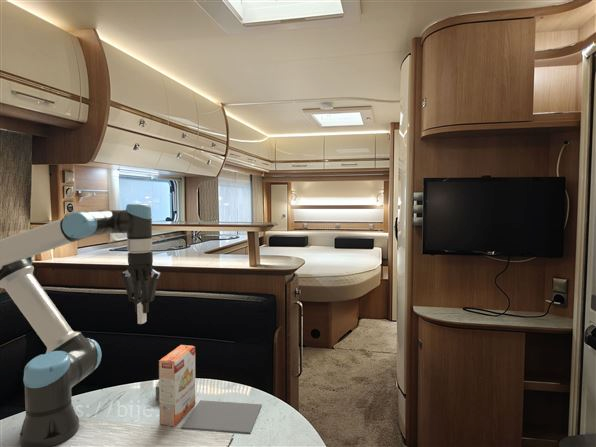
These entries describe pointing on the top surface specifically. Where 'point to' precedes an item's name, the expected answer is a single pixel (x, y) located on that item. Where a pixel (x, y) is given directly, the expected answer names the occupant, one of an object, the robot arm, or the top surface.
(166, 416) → the cracker box
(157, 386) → the dice cube
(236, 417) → the mat
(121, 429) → the top surface
